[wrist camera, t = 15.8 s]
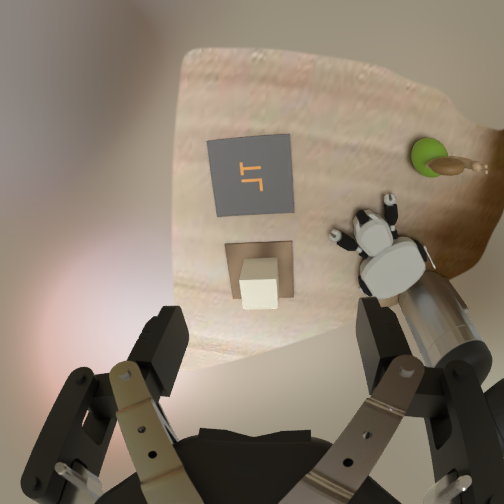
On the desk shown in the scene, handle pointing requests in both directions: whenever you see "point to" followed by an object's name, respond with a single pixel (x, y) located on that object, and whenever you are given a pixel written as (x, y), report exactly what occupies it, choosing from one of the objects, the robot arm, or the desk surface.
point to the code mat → (252, 175)
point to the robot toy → (383, 252)
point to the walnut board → (261, 250)
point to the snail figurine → (439, 160)
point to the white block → (259, 283)
